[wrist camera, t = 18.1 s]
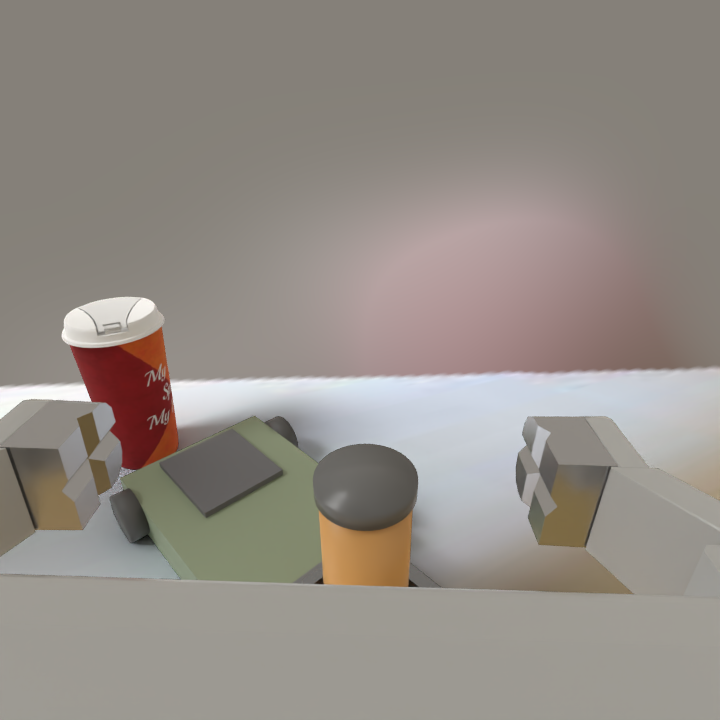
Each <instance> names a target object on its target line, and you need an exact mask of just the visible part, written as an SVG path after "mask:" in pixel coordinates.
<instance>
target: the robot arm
mask: <svg viewBox="0 0 720 720" xmlns="http://www.w3.org/2000/svg"><path fill="white" fill-rule="evenodd" d="M114 424H115V418H114V415H113V411H112V407H110V406H109V405H108V404H107V403H102V402H82V401H63V400H55V401H54V400H37V399H31V400H24V401H22V402H21V403H19V404H18V405H17V406H16V407H15V408H13V409H12V410H11V411H10V412H9V413H7V414H6V415H5V416H4V417H3V418H1V419H0V556H2V555H3V554H5V553H6V552H8V551H9V550H11V549H12V548H13V547H15V546H16V545H18V544H19V543H21V542H22V541H24V540H25V539H26V538H28V537H29V536H31V535H32V534H34V533H35V532H36V531H35V530H83V529H84V527H85V526H86V524H87V523H88V521H89V520H90V519H91V517H92V516H93V514H94V513H95V511H96V510H97V508H98V507H99V505H100V501H99V497H98V495H100V494H102V493H103V492H105V491H107V490H108V489H110V488H112V486H113V485H114V483H115V481H116V480H117V478H118V476H119V473H120V469H121V465H122V448H121V444H120V440H119V439H118V438H117V437H116V436H114V435H113V434H112V433H111V432H110V430H111V428H112V427H113V425H114ZM522 435H523V438H524V440H525V442H526V444H527V445H526V446H525V447H524V448H523V449H522V450H521V451H520V452H519V453H518V458H517V464H516V483H517V488H518V492H519V495H520V498H521V501H523V502H524V503H525V504H527V505H528V506H529V507H530V511H529V515H528V519H529V522H530V524H531V527H532V529H533V532H534V534H535V537H536V539H537V542H538V544H539V545H553V546H570V547H586V549H585V550H586V551H588V552H589V553H590V554H591V555H592V556H593V557H594V558H595V559H596V560H597V561H598V562H600V563H601V564H602V565H603V566H604V567H605V568H606V569H607V570H608V571H609V572H610V573H612V574H613V575H614V576H615V577H616V578H617V579H618V580H619V581H620V582H621V583H622V584H623V585H625V586H626V587H627V588H628V589H629V590H630V591H631V592H632V593H633V594H609V593H578V592H547V591H516V590H485V589H454V588H423V587H392V586H361V585H330V584H298V583H268V582H239V581H210V580H180V579H149V578H117V577H86V576H55V575H24V574H0V720H720V501H719V500H717V499H715V498H713V497H711V496H709V495H707V494H706V493H704V492H702V491H700V490H698V489H696V488H694V487H692V486H691V485H689V484H687V483H685V482H683V481H681V480H679V479H677V478H676V477H674V476H672V475H670V474H668V473H666V472H664V471H662V470H660V469H659V468H649V466H648V465H647V464H646V463H645V461H644V460H643V459H642V457H641V456H640V455H639V454H638V452H637V451H636V450H635V449H634V447H633V446H632V445H631V443H630V442H629V441H628V440H627V438H626V437H625V436H624V434H623V433H622V432H621V431H620V429H619V428H618V427H617V425H616V424H615V423H614V422H613V420H612V419H610V418H608V417H606V416H599V417H527V419H526V421H525V423H524V428H523V432H522Z"/></svg>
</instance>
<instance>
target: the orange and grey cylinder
mask: <svg viewBox="0 0 720 720" xmlns="http://www.w3.org/2000/svg"><path fill="white" fill-rule="evenodd" d="M313 490H314V500H315V503H316V506H317V508H318V510H319V522H320V537H321V552H322V567H323V583H324V584H330V585H361V586H392V587H408V585H409V567H410V548H411V529H412V511H413V508H414V506H415V504H416V500H417V491H418V475H417V471H416V469H415V467H414V465H413V464H412V462H411V461H410V460H409V459H408V458H407V457H406V456H404V455H403V454H401V453H400V452H398V451H396V450H394V449H391V448H388V447H385V446H381V445H375V444H357V445H350V446H346V447H343V448H340V449H337V450H335V451H333V452H331V453H330V454H328V455H327V456H326V457H324V458H323V459H322V460H321V461H320V462H319V464H318V465H317V467H316V469H315V471H314V475H313Z"/></svg>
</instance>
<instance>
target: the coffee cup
mask: <svg viewBox="0 0 720 720" xmlns="http://www.w3.org/2000/svg"><path fill="white" fill-rule="evenodd" d="M163 323H164V317H163V315H162V314H161V313H160V312H159V311H158V310H157V307H156V305H155V304H154V303H153V302H152V301H150V300H148V299H145V298H138V297H117V298H110V299H104V300H99V301H95V302H92V303H89V304H86V305H83V306H80V307H78V308H76V309H74V310H72V311H71V312H69V313H68V314H67V315H66V317H65V319H64V330H63V332H62V339H63V340H64V342H66V343H67V344H69V345H70V347H71V350H72V352H73V355H74V358H75V360H76V363H77V365H78V368H79V370H80V373H81V375H82V378H83V381H84V383H85V386H86V388H87V391H88V393H89V396H90V398H91V401H92V402H102V403H107V404H108V405H109V406H110V407H112V411H113V415H114V418H115V424H114V425H113V427H112V428H111V430H110V432H111V433H112V434H113V435H114V436H116V437H117V438H118V439H119V440H120V444H121V448H122V465H121V466H122V467H124V468H126V469H132V470H139V469H141V468H143V467H145V466H147V465H149V464H151V463H154V462H156V461H158V460H160V459H162V458H164V457H167V456H169V455H171V454H173V453H175V452H176V451H177V448H178V434H177V426H176V419H175V412H174V405H173V398H172V392H171V385H170V378H169V372H168V366H167V360H166V353H165V346H164V340H163V333H162V325H163Z"/></svg>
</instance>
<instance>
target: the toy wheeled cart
mask: <svg viewBox="0 0 720 720" xmlns="http://www.w3.org/2000/svg"><path fill="white" fill-rule="evenodd" d="M318 464H319V463H317V462H316V461H315V460H313V459H312V458H311V457H309V456H308V455H307V454H305V453H304V452H303V451H301V450H300V449H299V448H298V442H297V438H296V435H295V433H294V431H293V429H292V427H291V425H290V424H289V423H288V422H287V421H286V420H285V419H284V418H282V417H280V416H277V417H275V418H273V419H271V420H269V421H267V422H265V423H264V422H262V421H261V420H260V419H258V418H257V417H256V416H253V417H250V418H248V419H246V420H244V421H242V422H240V423H238V424H235V425H233V426H231V427H229V428H227V429H225V430H222V431H220V432H218V433H216V434H214V435H212V436H210V437H207V438H205V439H203V440H201V441H199V442H197V443H195V444H192V445H190V446H188V447H186V448H184V449H182V450H179V451H177V452H175V453H173V454H171V455H169V456H167V457H164V458H162V459H160V460H158V461H156V462H154V463H151V464H149V465H147V466H145V467H143V468H141V469H139V470H136V471H134V472H132V473H130V474H128V475H126V476H124V477H121V478H120V480H121V483H122V486H123V491H121V492H119V493H117V494H115V495H113V496H111V497H110V503H111V507H112V509H113V512H114V515H115V517H116V519H117V521H118V524H119V526H120V527H121V529H122V531H123V533H124V535H125V536H126V538H127V539H128V541H129V542H130V543H133V542H135V541H137V540H138V539H140V538H142V537H144V536H146V535H149V537H150V538H151V539H152V541H153V542H154V543H155V545H156V546H157V548H158V549H159V550H160V552H161V553H162V554H163V556H164V557H165V558H166V560H167V561H168V563H169V564H170V565H171V567H172V568H173V569H174V571H175V572H176V573H177V575H178V576H179V578H180V579H181V580H210V581H239V582H268V583H293V582H294V581H296V580H297V579H298V578H300V577H301V576H302V575H304V574H305V573H307V572H308V571H309V570H311V569H312V568H313V567H315V566H316V565H317V564H319V563H320V562H321V561H322V552H321V537H320V522H319V510H318V508H317V506H316V503H315V500H314V490H313V475H314V471H315V469H316V467H317V465H318Z"/></svg>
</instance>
